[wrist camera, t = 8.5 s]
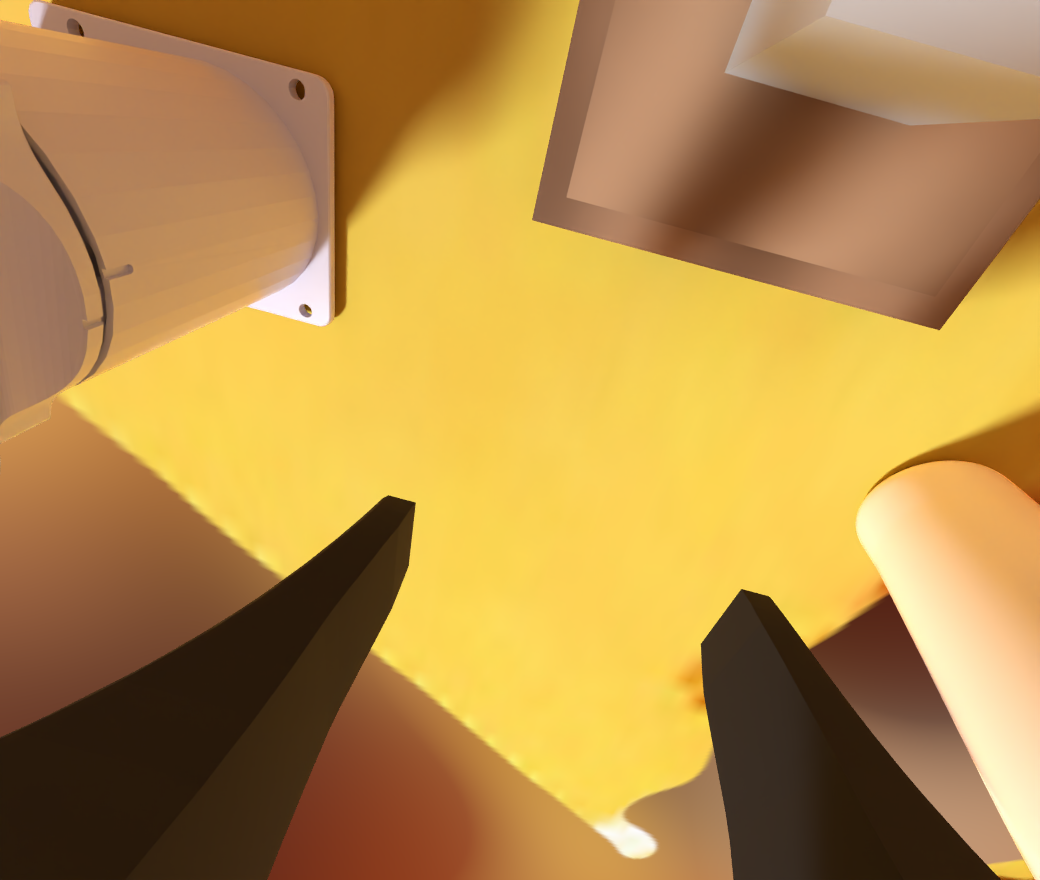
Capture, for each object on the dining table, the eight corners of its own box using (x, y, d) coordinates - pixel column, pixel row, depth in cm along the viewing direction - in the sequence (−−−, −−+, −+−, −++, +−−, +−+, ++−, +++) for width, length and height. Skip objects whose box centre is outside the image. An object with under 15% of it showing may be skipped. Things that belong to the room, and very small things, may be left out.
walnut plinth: (542, 209, 15) (531, 220, 13) (695, -477, 9) (726, -682, 7) (894, 304, 15) (942, 332, 13) (1316, -315, 9) (1556, -469, 7)
